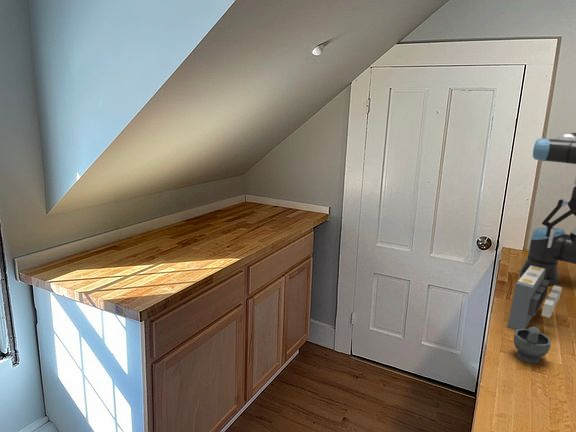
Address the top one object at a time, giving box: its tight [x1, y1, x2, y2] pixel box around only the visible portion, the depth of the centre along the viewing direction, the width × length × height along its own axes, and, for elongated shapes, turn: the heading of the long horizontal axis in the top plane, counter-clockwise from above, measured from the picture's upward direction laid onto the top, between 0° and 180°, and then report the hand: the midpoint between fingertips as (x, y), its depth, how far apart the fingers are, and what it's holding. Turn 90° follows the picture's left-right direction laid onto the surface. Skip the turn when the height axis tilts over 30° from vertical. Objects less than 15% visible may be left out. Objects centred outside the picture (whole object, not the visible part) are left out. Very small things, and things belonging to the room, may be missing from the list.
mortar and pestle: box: [513, 326, 552, 364], centre depth 128 cm, size 11×9×12 cm
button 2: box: [551, 285, 563, 303], centre depth 155 cm, size 4×2×4 cm, turn 141°
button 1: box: [541, 298, 555, 319], centre depth 143 cm, size 4×2×4 cm, turn 141°
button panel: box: [507, 265, 550, 330], centre depth 153 cm, size 24×7×16 cm, turn 141°
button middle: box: [547, 291, 558, 310], centre depth 149 cm, size 4×2×4 cm, turn 141°
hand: (572, 252), depth 141 cm, fingers open, 13 cm apart
